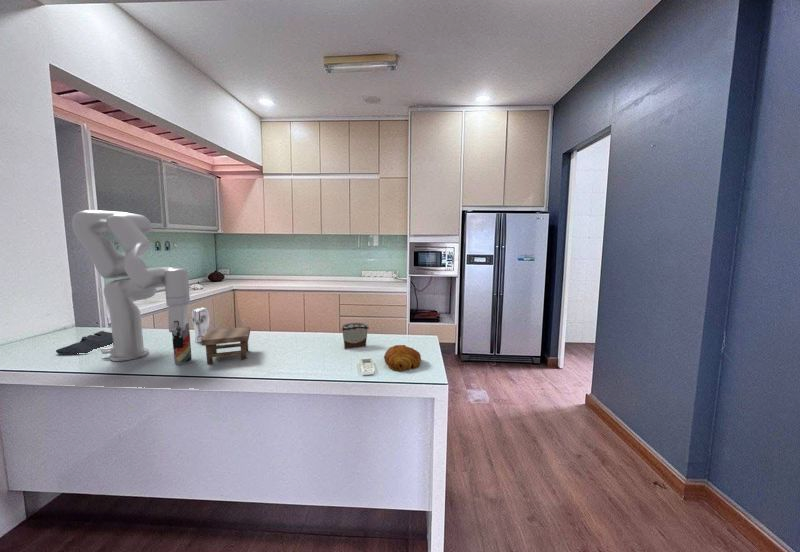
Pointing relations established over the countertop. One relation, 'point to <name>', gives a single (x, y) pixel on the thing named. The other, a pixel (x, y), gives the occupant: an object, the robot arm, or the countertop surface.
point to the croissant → (402, 358)
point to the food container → (354, 335)
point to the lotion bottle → (183, 353)
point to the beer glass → (200, 323)
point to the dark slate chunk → (88, 343)
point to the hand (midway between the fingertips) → (181, 343)
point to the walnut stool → (226, 337)
